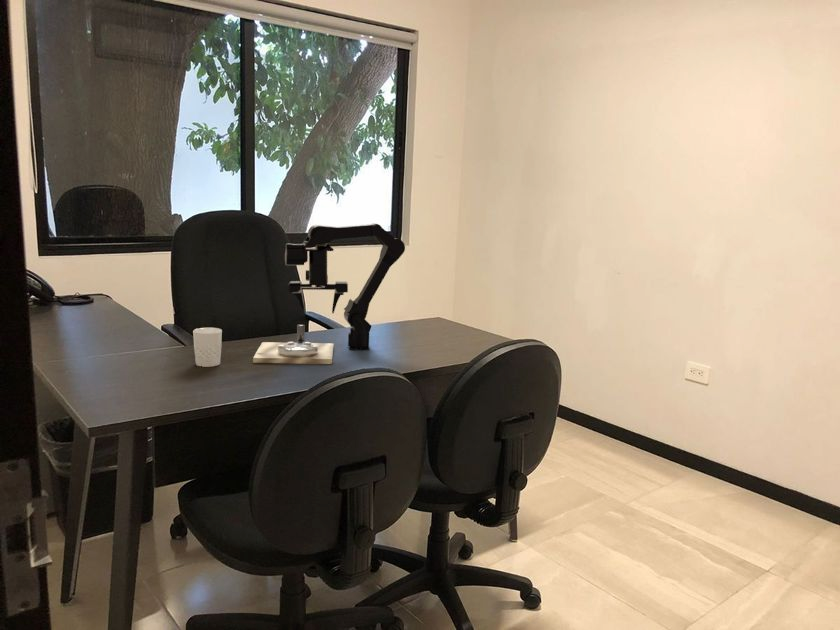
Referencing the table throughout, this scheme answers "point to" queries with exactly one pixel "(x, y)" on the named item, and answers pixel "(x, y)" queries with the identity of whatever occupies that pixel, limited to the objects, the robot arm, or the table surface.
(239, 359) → the table surface
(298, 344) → the grey metal part
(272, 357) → the base plate
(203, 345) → the white cup
